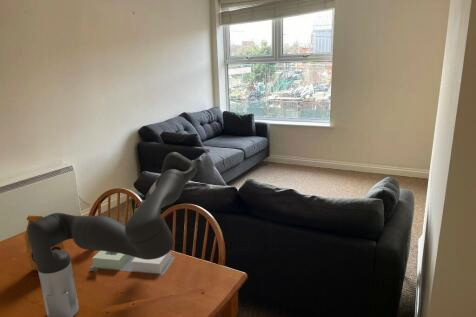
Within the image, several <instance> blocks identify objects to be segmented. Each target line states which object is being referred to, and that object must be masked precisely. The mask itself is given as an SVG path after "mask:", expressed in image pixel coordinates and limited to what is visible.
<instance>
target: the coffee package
mask: <svg viewBox="0 0 476 317" xmlns="http://www.w3.org/2000/svg"><path fill="white" fill-rule="evenodd" d="M43 217H44V216H42V215H28V216H27V217H26V221H28V222H27V227H26V229H25V230H26V231H25V234H24V240H25V244H26V245H25V246H26V249H27V254H28V255H27V256H28V260H29V264H30V268H31V270H33V271H37V272H38V268H37V265H36V263H35V260H34V257H33V253H32V249H31V246H30V242H29V239H28V234H27V228H28V225H29V224H30V223H31V222H33V221H35V220H38V219H40V218H43ZM51 250H52V251H54V250H63V251H66V249H65V245H64V241H63V242H61V243H59V244H57V245H55V246H53V247H51Z"/></svg>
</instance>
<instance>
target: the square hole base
mask: <svg viewBox="0 0 476 317" xmlns="http://www.w3.org/2000/svg"><path fill="white" fill-rule="evenodd" d="M175 258H176V257H175V256H172V249H171V250H170V252H169V253H167V254H166V255H164V256H162V257H160V258H157V259H151V260H146V259H140V258H137V257H133V256H129V255H126V254H121V253H114V252H107V251H98V252H97V253H96V254H95V255H94V256H93V257H92V265H90V266H89V271H90V272H98V271H99V270H100V269H102V270H110V271H111V270H112V271H120V272H129V273H130V272H132V273H141V274H152V275H162V276H164V274H165V273H166V272H167V270H168V269H169V267H170V266H171V265H172V263H173V262H174V260H175Z"/></svg>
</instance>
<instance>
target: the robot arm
mask: <svg viewBox="0 0 476 317" xmlns="http://www.w3.org/2000/svg"><path fill="white" fill-rule="evenodd" d="M161 168H162V169H161V173H160V175H159V177H158V178H157V179H156V180H155V182H153V184H152V185H151V187H150V188H149V190H148V191H147V193H146V195H145V199H144V200H145V201H144V202H143V203H142V204H141V203H140V206H139V205H136V206H135V207H134V213H132V215H131V216H130V217H129V219H128V220H127V222H126V224H125V225H124V224H123V223H121V222H120V221H118V220H117V219H114V218H113V217H110V216H106V215H73V214H67V213H63V212H54V213H50V214H48V215H45V216H43V218H40V219H38V220H35V221H33V222H31V223H30V224H29V225H28V224H27V226H28V228H27V227H26V230H27V234H28V239H29V242H30V246H31V249H32V253H33V257H34V260H35V263H36V265H37V268H38V271H37V272H38V273H37V274H38V277H39V281H40V283H39V284H40V289H41V293H42V297H43V302H44V308H45V312H46V316H47V317H74V316H75V315H76V314H77V313H78V312H79V309H80V307H79V302H78V301H79V300H78V296H77V290H76V284H75V277H74V273H73V267H72V261H71V255H70V253H69V252H68V251H66V250H65V251H63V250H54V251H52V250H51V247H53V246H55V245H57V244H59V243H61V242H63V243H64V242H65V241H68V240H73V242H74V243H75V245H76V246H77V247H78V248H80V249H83V250H89V251H96V252H97V251H98V252H99V251H107V252H114V253H121V254H126V255H129V256H133V257H137V258H140V259H146V260H151V259H157V258H160V257H162V256H164V255H166V254H167V253H169V252H170V250H171V251H172V249H173V248H174V241H175V240H174V237H173V234H172V231H171V230H170V228H169V226H168V224H167V223H166V220H165V219H164V216H162V214H161V213H162V212H161V210H162V209H163V208H164V207H166V206H170V205H172V204H174V203H175V202H176V201H177V200H178V199H179V198H180V196H181V194H182V192H183V190H184V187H185V185H186V184H187V183H188V182H190V181H191V180H192V179H193V178H194V176H196V174H197V170H198V169H197V164H196V163H195V162H193V161H192V160H190V159H189V158H187V157H186V156H184V155H183V154H180V153H179V152H176V151H173V152H172V151H171V152H170V153H168V154H166V156H165V158H164V160H163V164H162V167H161Z"/></svg>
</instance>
